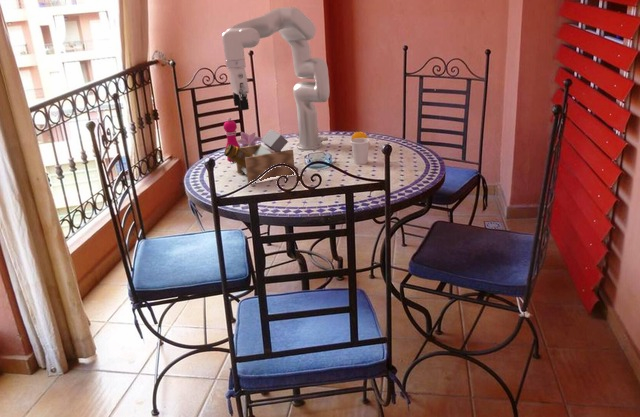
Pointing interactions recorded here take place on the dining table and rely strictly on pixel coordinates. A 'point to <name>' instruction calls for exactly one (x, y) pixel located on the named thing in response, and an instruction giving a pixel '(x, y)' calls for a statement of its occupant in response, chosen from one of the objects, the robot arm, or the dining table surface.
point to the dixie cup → (360, 150)
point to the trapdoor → (270, 144)
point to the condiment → (237, 155)
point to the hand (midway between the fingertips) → (241, 107)
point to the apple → (359, 135)
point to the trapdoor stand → (266, 163)
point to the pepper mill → (231, 134)
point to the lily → (248, 139)
